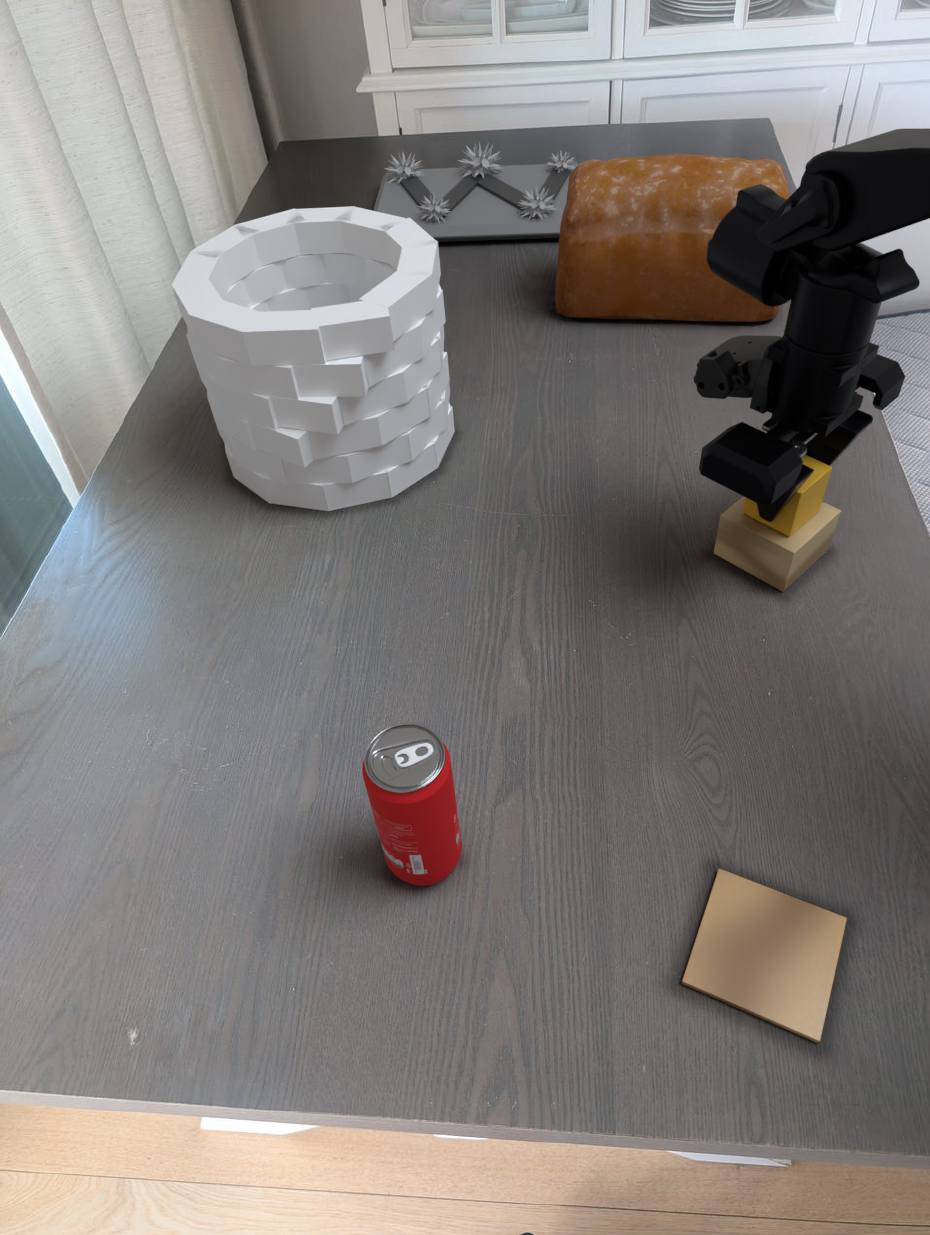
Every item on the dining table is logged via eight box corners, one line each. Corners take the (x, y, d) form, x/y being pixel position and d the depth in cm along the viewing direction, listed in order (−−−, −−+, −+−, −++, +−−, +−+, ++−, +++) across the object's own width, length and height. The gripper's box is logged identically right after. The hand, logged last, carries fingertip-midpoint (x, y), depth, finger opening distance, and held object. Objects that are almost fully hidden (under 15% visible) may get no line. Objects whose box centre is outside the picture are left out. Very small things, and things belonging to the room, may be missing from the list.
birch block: (828, 550, 77) (841, 510, 74) (783, 592, 74) (794, 553, 71) (759, 514, 81) (768, 474, 78) (713, 553, 78) (720, 514, 75)
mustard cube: (819, 510, 74) (833, 466, 71) (789, 537, 72) (801, 494, 69) (772, 487, 76) (783, 444, 73) (742, 512, 74) (751, 469, 71)
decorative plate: (366, 250, 122) (359, 197, 116) (384, 185, 136) (378, 135, 131) (588, 242, 119) (590, 187, 114) (582, 176, 134) (584, 125, 128)
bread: (781, 329, 102) (812, 187, 90) (551, 323, 106) (553, 187, 94) (772, 271, 111) (799, 135, 99) (561, 268, 115) (563, 137, 103)
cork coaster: (845, 920, 55) (847, 917, 55) (818, 1043, 51) (820, 1041, 50) (718, 870, 58) (718, 867, 58) (681, 983, 54) (681, 981, 53)
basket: (219, 397, 100) (166, 228, 86) (426, 356, 102) (408, 187, 89) (236, 542, 83) (175, 363, 69) (484, 489, 86) (473, 306, 72)
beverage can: (375, 839, 61) (348, 738, 52) (445, 810, 62) (429, 707, 54) (402, 904, 58) (377, 809, 49) (475, 873, 59) (463, 774, 50)
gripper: (799, 251, 71) (763, 417, 82) (650, 347, 62) (633, 516, 74) (935, 295, 65) (876, 467, 76) (790, 408, 57) (748, 581, 68)
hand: (782, 504), depth 74 cm, fingers closed on mustard cube, 4 cm apart
